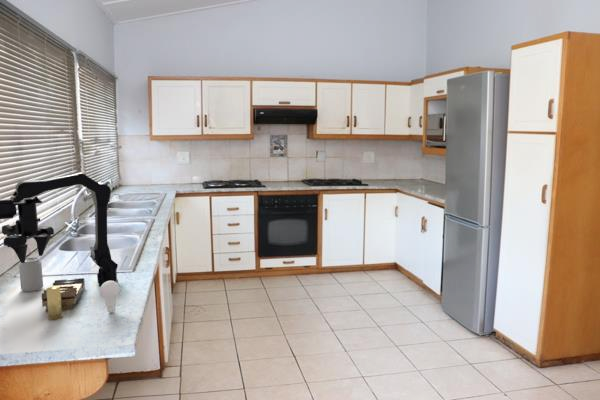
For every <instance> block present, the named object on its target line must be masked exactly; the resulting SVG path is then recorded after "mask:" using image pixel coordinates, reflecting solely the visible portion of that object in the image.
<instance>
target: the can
mask: <svg viewBox="0 0 600 400" xmlns="http://www.w3.org/2000/svg"><path fill="white" fill-rule="evenodd" d="M18 270H19V271H18V272H19V280H20V281H19V282H20V291H21V290H22V291H23V292H24V293H34V292H38V291H40V290H41V289H42V288H43V287H44V279H43V267H42V261H41V260H40V258H39V257H37V256H36V257H35V256H33V257H32V256H31V257H26V259H25V263H21V262H20V263H18Z"/></svg>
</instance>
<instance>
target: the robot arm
mask: <svg viewBox="0 0 600 400" xmlns="http://www.w3.org/2000/svg"><path fill="white" fill-rule="evenodd" d="M78 185H81V186H82V187H85V188H86V189H87V190H89V191H90V192H91V198H92V201H93V205H94V221H95V227H94V230H95V235H94V236H95V242H94V245H93V246H89V250H90V255H89V257H90V258H91V259H92V260H91V261H92V262H93V263H95V265H96V266H98V271H97V274H96V275H97V276H96V277H97V284H98V287H101V286H102V284H103V283H104V282H106V281H115V282H116V283H118V281H119V279H118V273H117V269H118V266H119V264H117V263H116V262H115V261H114V260H113V259H112V255H111V251H110V247H109V244H108V205H109V203H110V199H111V193H112V191H111V187H110V185H108V184H106V183H103V182H100V181H99V182H97V181H96V180H94V179H92V178H91V177H89V176H88V175H87V174H86V173H83V172H77V173H74V174H69V175H63V176H59V177H58V176H57V177H53V178H48V179H41V180H40V179H39V180H36V179H35V180H34V179H29V180H21V181H19V182H17V183H16V185H15V189H14V192H13V194H12V195H11V196H10V198H8V199H0V220H6V219H8V220H9V219H14V217H15V216H16V215H17V211H18V219H17V220H16V221H15V224H14V225H10V224H4V225H2V226H1V233H2V234H3V235H4V236H5V238H3V246H5V247H6V246H7V248H11V249H13V250H14V252H15V254H16V256H17V258H18V259H19V261H20V262H21V263H25V259H26V258H27V251H28V244H27V241H28V240H29V239H32V238H33V239H34V240H35V242H36V247H37V248H36V249H37V252H38V253H37V254H38V256H39V257H42V256H44V253H45V250H46V248H47V245H48V243H49V241H50V239H51V238H52V237H53V236H52V235H54V234H55V231H54V230H55V229H54V228H53V227H52V226H39V222H41V218H39V217H38V213H37V212H38V211H37V204H42V203H43V201H42V200H41V199H40V198H38V196H39V195H41V194H43V193H46V192H49V191H53V190H58V189H62V188H63V189H64V188H67V187H73V186H78Z"/></svg>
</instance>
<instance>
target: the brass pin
mask: <svg viewBox="0 0 600 400" xmlns="http://www.w3.org/2000/svg"><path fill="white" fill-rule="evenodd" d="M45 290H46V291H47V303H48V312H47V314H48V320H49V321H59V320H60V319H62V318H63V311H62V304H61V291H60V287H59V286H54V287H52V286H49V287H46V289H45Z"/></svg>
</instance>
